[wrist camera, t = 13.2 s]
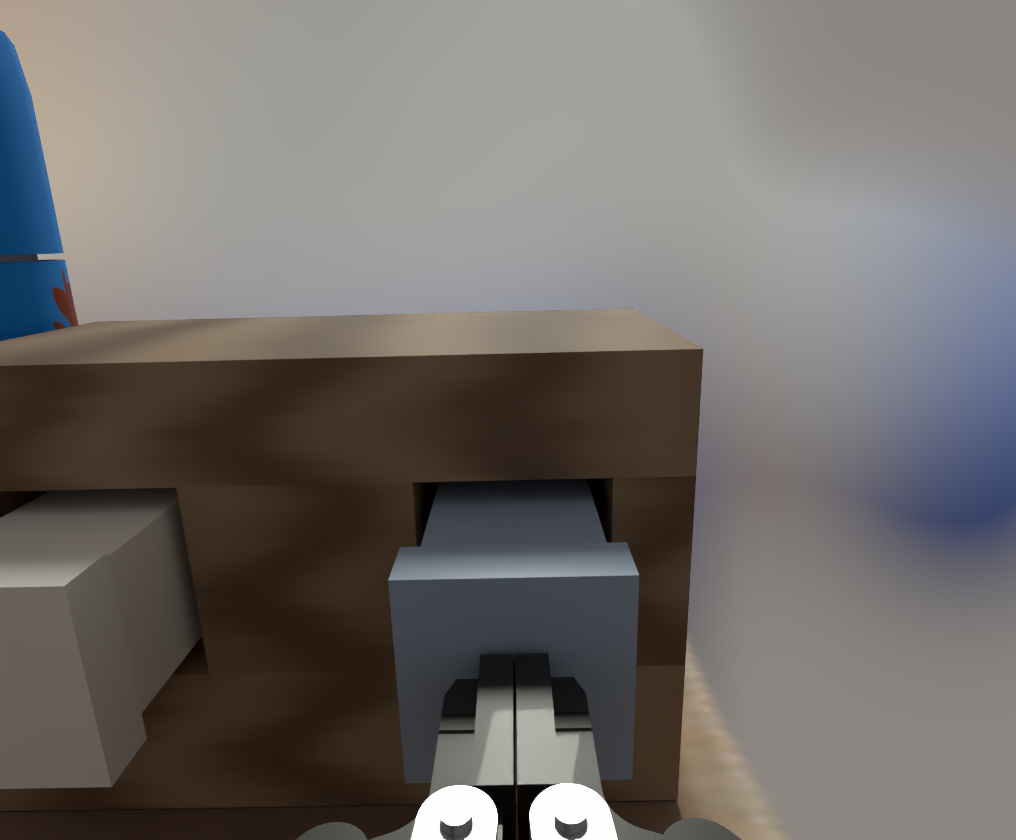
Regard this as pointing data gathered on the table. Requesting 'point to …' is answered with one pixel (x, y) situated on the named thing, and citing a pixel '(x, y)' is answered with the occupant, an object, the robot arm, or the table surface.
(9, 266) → the thermos
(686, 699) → the table surface
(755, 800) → the table surface
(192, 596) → the key white
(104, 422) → the housing
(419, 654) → the key blue
